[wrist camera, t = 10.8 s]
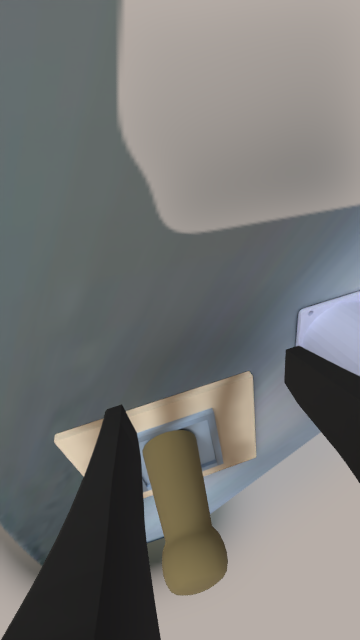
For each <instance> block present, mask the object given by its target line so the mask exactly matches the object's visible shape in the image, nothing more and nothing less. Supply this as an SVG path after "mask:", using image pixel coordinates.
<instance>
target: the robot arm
mask: <svg viewBox="0 0 360 640" xmlns="http://www.w3.org/2000/svg"><path fill="white" fill-rule="evenodd" d="M285 384H286V386H287V387H288V389H289V390H290V392H291V394H292V395H293V397H294V398H295V400H296V401H297V403H298V404H299V405H300V407H301V408H302V409H303V410H304V412H305V413H306V414H307V415H308V416H309V418H310V419H311V420H312V421H313V423H314V424H315V425H316V426H317V427H318V429H319V430H320V431H321V432H322V433H323V435H324V436H325V437H326V438H327V440H328V441H329V442H330V443H331V444H332V446H333V447H334V448H335V449H336V450H337V452H338V453H339V454H340V456H341V457H342V458H343V460H344V461H345V462H346V464H347V465H348V467H349V468H350V470H351V471H352V472H353V474H354V475H355V476H356V478H357V480H358V481H359V483H360V291H358V292H355V293H352V294H349V295H345V296H342V297H339V298H336V299H333V300H329V301H326V302H323V303H320V304H316V305H313V306H310V307H307V308H304V309H302V310H300V312H299V315H298V326H297V337H296V347H293V348H290V349H287V350H286V358H285ZM1 640H161V638H160V633H159V626H158V619H157V613H156V607H155V600H154V593H153V586H152V579H151V572H150V565H149V557H148V551H147V542H146V533H145V522H144V502H143V482H142V464H141V454H140V448H139V442H138V436H137V432H136V430H135V428H134V426H133V425H132V423H131V421H130V419H129V417H128V415H127V413H126V411H125V410H124V408H123V406H122V405H119V406H116V407H113V408H110V409H107V410H106V412H105V415H104V419H103V422H102V426H101V429H100V432H99V435H98V438H97V441H96V444H95V447H94V450H93V453H92V456H91V459H90V461H89V464H88V467H87V470H86V472H85V475H84V477H83V480H82V482H81V485H80V487H79V490H78V492H77V495H76V497H75V500H74V502H73V504H72V506H71V509H70V511H69V513H68V515H67V518H66V520H65V522H64V524H63V526H62V528H61V530H60V532H59V535H58V537H57V539H56V541H55V543H54V545H53V547H52V549H51V551H50V553H49V554H48V556H47V558H46V560H45V562H44V564H43V566H42V568H41V570H40V572H39V574H38V576H37V578H36V579H35V581H34V583H33V585H32V587H31V589H30V591H29V592H28V594H27V596H26V597H25V599H24V601H23V603H22V604H21V606H20V608H19V610H18V611H17V613H16V615H15V617H14V618H13V620H12V622H11V624H10V625H9V627H8V629H7V631H6V632H5V634H4V636H3V637H2V639H1Z"/></svg>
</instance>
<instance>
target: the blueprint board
mask: <svg viewBox="0 0 360 640" xmlns="http://www.w3.org/2000/svg"><path fill="white" fill-rule="evenodd" d="M126 413H127V415H128V417H129V419H130V421H131V423H132V425H133V426H134V428H135V430H136V432H137V436H138V442H139V448H140V454H141V464H142V482H143V498H146V497H148V496H151V495H153V492H152V488H151V484H150V481H149V477H148V473H147V469H146V465H145V462H144V458H143V451H142V450H143V448H144V446H145V445H146V444H147V443H148V442H149V441H150V440H151V439H153V438H154V437H156V436H158V435H160V434H163V433H165V432H169V431H174V430H185V431H190V432H192V433H193V434H195V437H196V439H197V445H198V450H199V456H200V462H201V467H202V473H203V477H204V476H206V475H209V474H212V473H215V472H217V471H220V470H223V469H226V468H228V467H231V466H234V465H237V464H239V463H242V462H245V461H248V460H250V459H253V458H256V441H255V417H254V393H253V376H252V374H251V373H250V371H247V372H244V373H241V374H238V375H235V376H232V377H229V378H226V379H223V380H220V381H217V382H214V383H211V384H208V385H205V386H202V387H198V388H195V389H192V390H189V391H186V392H183V393H180V394H177V395H174V396H171V397H168V398H165V399H162V400H159V401H156V402H153V403H150V404H147V405H143V406H140V407H137V408H134V409H131V410H128V411H126ZM102 422H103V419H101V420H98V421H95V422H92V423H88V424H85V425H82V426H79V427H76V428H73V429H70V430H67V431H64V432H61V433H58V434H55V439H54V443H55V444H56V445H57V446H58V447H59V448H60V450H61V451H62V452H63V453H64V454H65V455H66V457H67V458H68V459H69V460H70V461H71V462H72V463H73V465H74V466H75V467H76V468H77V469H78V470H79V472H80V473H81V474H82V475H83V476H84V475H85V472H86V470H87V467H88V464H89V461H90V459H91V456H92V453H93V450H94V447H95V444H96V441H97V438H98V435H99V432H100V429H101V426H102Z"/></svg>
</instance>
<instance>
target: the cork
mask: <svg viewBox="0 0 360 640" xmlns="http://www.w3.org/2000/svg"><path fill="white" fill-rule="evenodd" d="M142 451H143V458H144V462H145V465H146V469H147V473H148V477H149V481H150V484H151V488H152V492H153V496H154V499H155V503H156V507H157V511H158V515H159V518H160V522H161V526H162V530H163V534H164V537H165V541H166V543H165V546H164V549H163V555H162V568H163V576H164V579H165V582H166V585H167V586H168V588H169V589H170V591H171V592H172V593H174V594H176V595H193V594H197V593H200V592H203V591H205V590H207V589H209V588H211V587H212V586H214V585H215V584H216V583H217V582H219V581H220V580H221V579H222V578H223V577H224V575H225V573H226V571H227V564H228V559H227V552H226V549H225V545H224V542H223V540H222V538H221V536H220V534H219V533H218V531H216V529H214V527H213V526H212V524H211V518H210V512H209V507H208V501H207V495H206V490H205V484H204V478H203V473H202V467H201V462H200V456H199V450H198V445H197V439H196V437H195V434H193V433H192V432H190V431H185V430H174V431H169V432H165V433H163V434H160V435H158V436H156V437H154V438H153V439H151V440H150V441H149V442H148V443H147V444H146V445H145V446H144V448H143V450H142Z"/></svg>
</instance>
